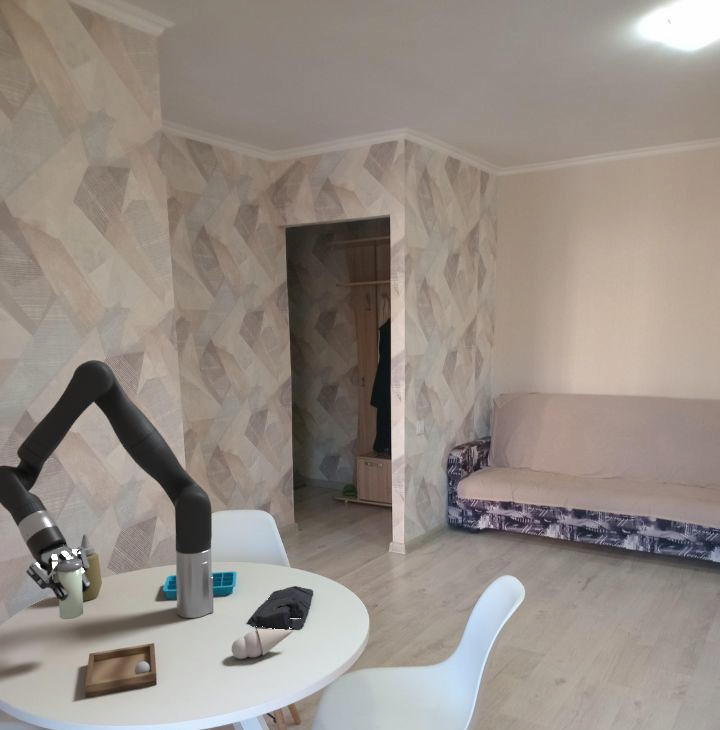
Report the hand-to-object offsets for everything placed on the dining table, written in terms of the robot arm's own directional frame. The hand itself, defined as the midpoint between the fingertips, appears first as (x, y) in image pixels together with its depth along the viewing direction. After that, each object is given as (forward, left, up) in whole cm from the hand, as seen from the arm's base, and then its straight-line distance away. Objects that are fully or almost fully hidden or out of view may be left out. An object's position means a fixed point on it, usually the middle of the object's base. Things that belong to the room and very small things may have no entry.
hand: (75, 593), depth 146 cm
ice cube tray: (-31, -30, -16) cm, 46 cm away
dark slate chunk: (-51, -8, -16) cm, 54 cm away
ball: (-14, +15, -13) cm, 24 cm away
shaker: (+1, -1, -5) cm, 6 cm away
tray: (-10, +11, -15) cm, 21 cm away
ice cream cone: (-41, +13, -16) cm, 45 cm away
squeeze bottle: (0, -36, -15) cm, 40 cm away
